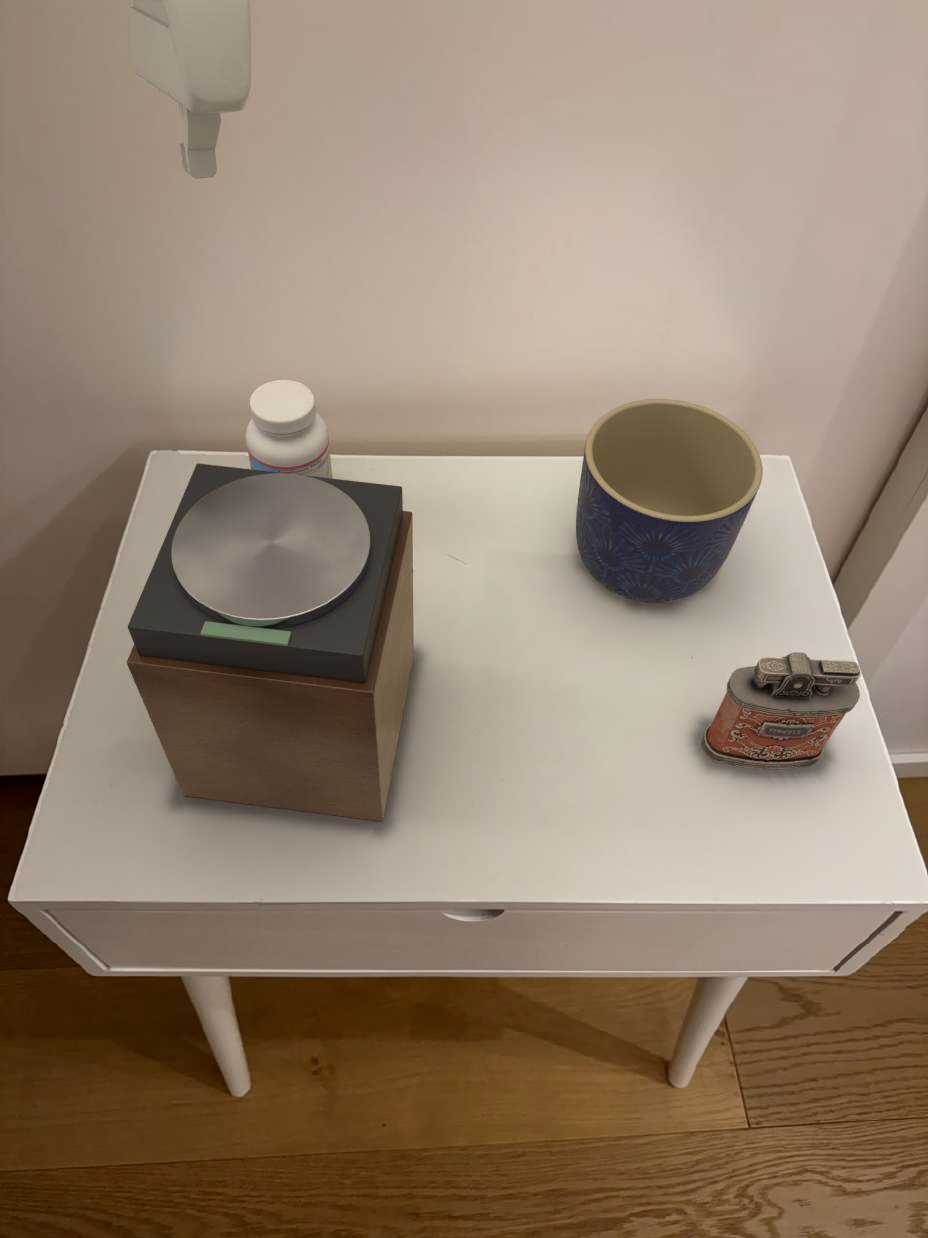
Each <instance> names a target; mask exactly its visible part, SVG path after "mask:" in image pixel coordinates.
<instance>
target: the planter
mask: <svg viewBox="0 0 928 1238" xmlns="http://www.w3.org/2000/svg"><path fill="white" fill-rule="evenodd" d="M584 444H585V445H584V450H583V451H584V452H583V457H582V465H581V472H580V479H579V487H578V494H577V503H576V511H575V513H576V514H575V517H576V518H575V537H576V538H575V539H576V543H577V544H576V545H577V549H578V554H579V556H580V558H581V560H582V562H583V565H584V566H585V568H586V569H587V571H588V572H589V573H590V574H591V576H592V577H593V578H594V579H595V580H596V581H597V582H599V583H600V584H601V585H602V586H604V587H605V588H606V589H607V590H609V591H611V592H613V593H615V594H617V595H618V596H621V597H623V598H626V599H629V600H632V601H635V602H640V603H641V602H642V603H648V604H663V603H664V604H666V603H671V602H672V603H673V602H677V601H680V600H683V599H686V598H688V597H690V596H692V595H695V594H696V593H698V592H699V591H701V590H702V589H704V588H705V587H706V586H707V585H708V584H709V583H710V582H711V581H712V580H713V579H714V578H715V577H716V575H717V574H718V572H719V571H720V570H721V568H722V567H723V565H724V564H725V562H726V560H727V558H728V556H729V554H730V552H732V548H733V546H734V545H735V543H736V540H737V539H738V536H739V534H740V532H741V530H742V527H743V526H744V524H745V522H746V519H747V517H748V514H749V513H750V510H751V508H752V506H753V503H754V501H755V498H756V496H757V494H758V491H759V489H760V487H761V485H762V480H763V475H764V474H763V473H764V471H763V469H764V467H763V462H762V458H761V455H760V452H759V451H758V448H757V447H756V444H755V443H754V441H753V440H752V439H751V437H750V436H749V435H748V434H747V432H746V431H744V430H743V429H742V428H741V427H740V426H739V425H737V424H736V423H735V422H733V421H732V420H731V419H729V418H728V417H726V416H724V415H723V414H721V413H719V412H717V411H715V410H713V409H710V408H708V407H705V406H704V405H700V404H697V403H694V402H689V401H684V400H679V399H670V398H647V399H639V400H634V401H630V402H627V403H624V404H621V405H619V406H616V407H615V408H612V409H610V410H609V411H607V412H606V413H605V414H603V415H601V416H600V418H598V419H597V421H596V422H594V424H593V425H592V427H591V428H590V430H589V432H588V434H587V436H586V439H585V443H584Z"/></svg>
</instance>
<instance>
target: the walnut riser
mask: <svg viewBox="0 0 928 1238" xmlns="http://www.w3.org/2000/svg"><path fill="white" fill-rule="evenodd" d="M413 514H414V513H413V511H408V510H403V518H402V522H401V527H400V531H399V536H398V540H397V545H396V549H395V554H394V558H393V563H392V567H391V572H390V576H389V581H388V585H387V590H386V594H385V599H384V603H383V608H382V612H381V617H380V621H379V626H378V630H377V635H376V639H375V644H374V648H373V653H372V657H371V662H370V666H369V671H368V675H367V680H366V682H365V683H360V682H352V681H344V680H336V679H328V678H320V677H311V676H303V675H295V674H287V673H279V672H271V671H263V670H254V669H246V668H238V667H230V666H222V665H214V664H206V663H197V662H189V661H181V660H173V659H165V658H157V657H149V656H140V655H138V652H137V650H136V647H135V645H134V644H133V646H132V647H131V650H130V652H129V655H128V657H127V660H126V665H127V667H128V670H129V672H130V674H131V677H132V679H133V681H134V684H135V687H136V689H137V691H138V693H139V697H140V698H141V701H142V703H143V705H144V707H145V710H146V713H147V715H148V717H149V719H150V722H151V724H152V726H153V729H154V730H155V733H156V736H157V738H158V741H159V743H160V745H161V747H162V750H163V752H164V754H165V756H166V759H167V761H168V763H169V767H170V768H171V771H172V773H173V776H174V778H175V780H176V782H177V785H178V787H179V790H180V792H181V794H182V796H183V797H188V798H189V797H191V798H198V799H207V800H214V801H222V802H228V803H236V804H245V805H252V806H261V807H268V808H274V809H275V808H276V809H284V810H291V811H299V812H307V813H312V814H313V813H314V814H322V815H329V816H335V817H336V816H337V817H345V818H351V819H352V818H353V819H361V820H368V821H376V822H383V821H384V816H385V811H386V807H387V801H388V796H389V790H390V785H391V779H392V774H393V769H394V764H395V759H396V753H397V748H398V743H399V737H400V732H401V726H402V721H403V716H404V710H405V707H406V706H405V705H406V700H407V695H408V690H409V686H410V685H409V684H410V680H411V674H412V670H413V669H412V668H413V664H414V657H415V645H414V643H415V639H414V638H415V637H414V634H415V633H414V632H415V631H414V629H415V628H414V544H413V543H414V533H413V532H414V531H413V530H414V528H413V525H414V523H413V521H414V520H413V519H414V517H413Z"/></svg>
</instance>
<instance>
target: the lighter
mask: <svg viewBox="0 0 928 1238" xmlns="http://www.w3.org/2000/svg"><path fill="white" fill-rule="evenodd" d="M861 675H862V671H861V667H860V665H859V664H858V663H857V662H856V661H853V660H852V661H851V660H831V659H815V658H814V659H812V658H810V657H809V656H808V655H807V653H805V652H800V651H799V652H797V651H795V652H791V653H788V654H787V655H784V656H782V657H770V656H769V657H766V656H764V657H761V658H759V659H758V662H757V663H756V665H753V666H752V665H751V666H742V667H739V668H736V669H735V670H733V672H731V675H730V677H729V679H728V681H727V684H726V692H725V694H724V697H723V699H722V701H721V703H720V705H719V707H718V710H717V711H716V713H715V716H714V718H713V720H712V722H711V723H710V724H709V725H708V726H707V727H706V728H705V731H704V733H703V735H702V738H701V747H702V750H703V753H704V754H705V755H706V756H707V757H708V758H709V759H710V760H711V761H714V762H716V763H721V764H725V765H729V766H734V767H739V768H747V769H757V770H789V769H790V770H791V769H797V768H806V767H812V766H814V765H815V764H816V763H817V762H818V761H819V760H820V759H821V757H822V756H823V753H824V749H825V746H826V744H827V743H828V741H829V740H830V739H831V737H832V735H833V734H834V732H835V730H837V727H838V726H839V725H840V723H841V722H842V720H843V719H844V717H845V716H846V714H848V713H850V712H851V711H852V710H853V709H854V708H855V707H856V705H857V704H858V702H859V700H860V696H861V694H860V693H861V692H860V688H859V686H858V683H857V681H859V678H860V677H861Z"/></svg>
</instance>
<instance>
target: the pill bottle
mask: <svg viewBox="0 0 928 1238" xmlns="http://www.w3.org/2000/svg"><path fill="white" fill-rule="evenodd" d="M249 408H250V417H251V419H250V421H249V422H248V424H247V427H246V431H245V444H246V449H247V454H248V455H247V456H248V459H249V460H248V461H249V466H250V469H252V470H261V471H270V472H279V473H287V474H297V475H305V476H314V477H323V478H332V479H334V478H333V470H332V457H331V448H330V447H331V446H330V439H329V438H330V437H329V431H328V427H327V424H326V422H325V420H324V418H323V417H322V416H321V415H320V414H319V413H318V412H317V405H316V398H315V396H314V393H313V392H312V390H311V389H310V388H309V387H308V386H306V385H305V384H303V383H302V382H299V381H295V380H290V379H277V380H272V381H269V382H266V383H264V384H262V385H259V387H257V388H256V389H255V390H253V392H252V393H251V395H250V398H249Z"/></svg>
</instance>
